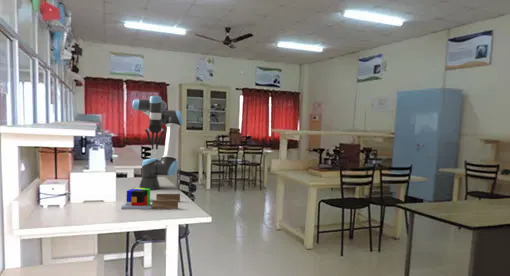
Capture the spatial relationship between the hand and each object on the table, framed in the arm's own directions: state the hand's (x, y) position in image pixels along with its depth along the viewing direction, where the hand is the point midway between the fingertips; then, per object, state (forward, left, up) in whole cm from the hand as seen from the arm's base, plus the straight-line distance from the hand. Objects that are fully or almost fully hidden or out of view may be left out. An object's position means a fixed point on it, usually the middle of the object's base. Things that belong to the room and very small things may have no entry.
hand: (154, 154), depth 218 cm
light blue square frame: (+17, -6, -30) cm, 35 cm away
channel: (+17, +10, -30) cm, 36 cm away
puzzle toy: (+18, -7, -31) cm, 36 cm away
